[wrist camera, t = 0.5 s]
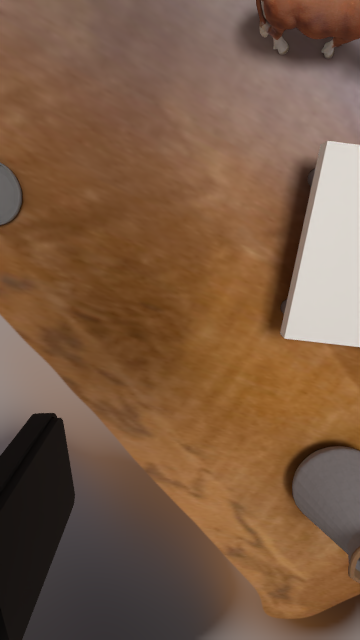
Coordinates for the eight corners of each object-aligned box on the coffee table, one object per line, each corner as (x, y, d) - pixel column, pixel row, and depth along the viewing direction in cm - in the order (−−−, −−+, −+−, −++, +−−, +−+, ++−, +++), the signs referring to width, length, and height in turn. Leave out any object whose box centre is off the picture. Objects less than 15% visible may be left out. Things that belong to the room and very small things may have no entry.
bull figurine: (373, 81, 32) (436, 35, 24) (240, 48, 31) (259, -10, 23) (391, 28, 31) (462, -38, 23) (252, -8, 30) (277, -89, 22)
